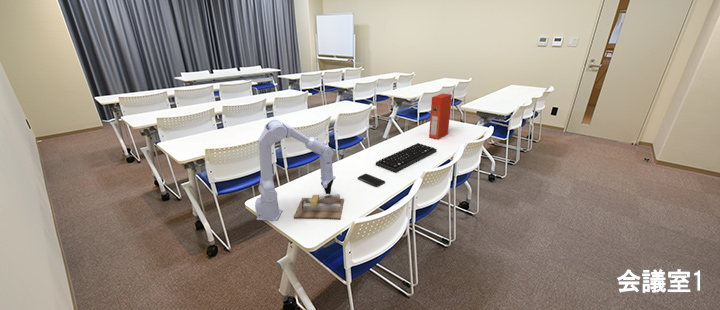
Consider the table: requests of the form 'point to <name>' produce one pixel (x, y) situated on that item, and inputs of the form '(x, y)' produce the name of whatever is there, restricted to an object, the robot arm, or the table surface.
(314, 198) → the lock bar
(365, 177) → the phone
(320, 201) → the bar
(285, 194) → the table surface
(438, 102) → the file binder
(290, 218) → the table surface
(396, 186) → the table surface
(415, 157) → the computer keyboard
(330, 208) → the fixed tong arm
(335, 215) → the walnut board
